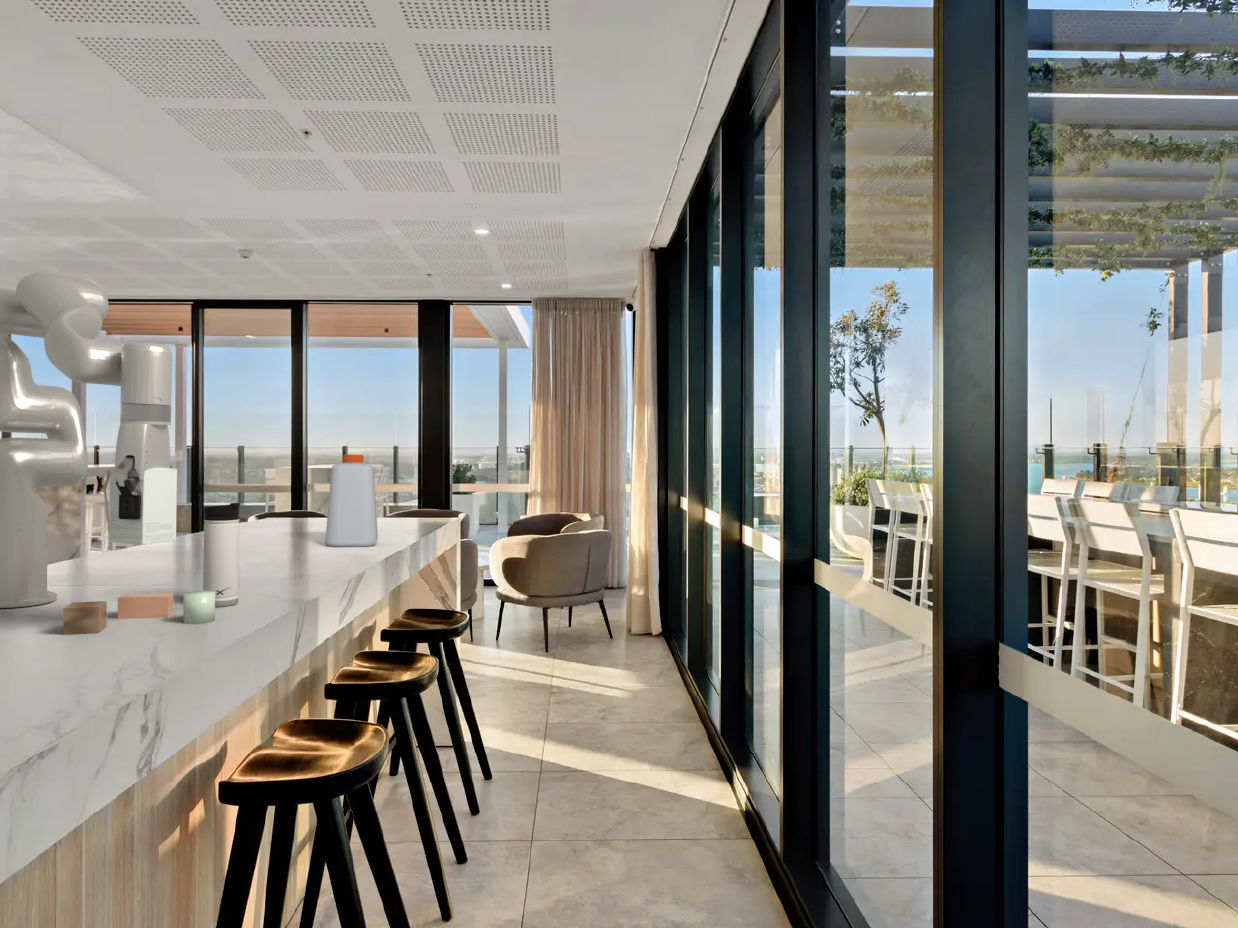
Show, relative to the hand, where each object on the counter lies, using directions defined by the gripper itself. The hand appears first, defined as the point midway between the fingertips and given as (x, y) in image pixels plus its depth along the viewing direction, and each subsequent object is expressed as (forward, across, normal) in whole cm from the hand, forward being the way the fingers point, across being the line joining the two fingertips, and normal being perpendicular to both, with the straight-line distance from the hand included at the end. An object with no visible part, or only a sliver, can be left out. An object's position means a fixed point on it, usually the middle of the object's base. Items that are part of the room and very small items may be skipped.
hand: (144, 516), depth 140 cm
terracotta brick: (+19, -9, -3) cm, 21 cm away
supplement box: (+5, 0, 0) cm, 5 cm away
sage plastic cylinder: (+19, -5, +8) cm, 21 cm away
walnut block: (+19, +3, -7) cm, 21 cm away
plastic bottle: (+20, -116, +8) cm, 118 cm away
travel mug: (+19, -20, +6) cm, 28 cm away
